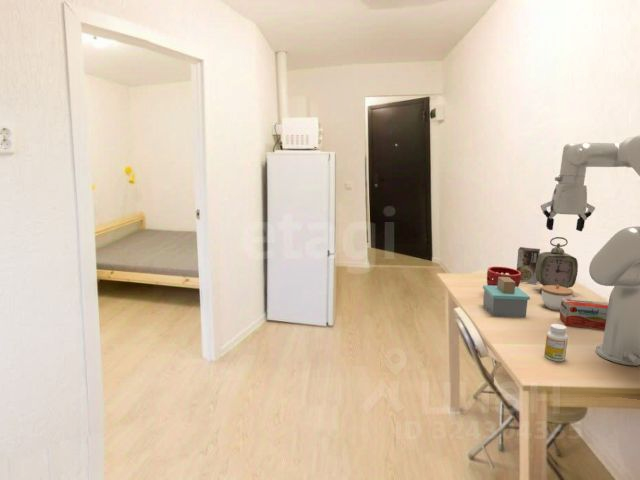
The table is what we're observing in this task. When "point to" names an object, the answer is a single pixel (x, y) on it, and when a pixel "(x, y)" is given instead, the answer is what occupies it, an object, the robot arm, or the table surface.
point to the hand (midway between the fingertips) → (564, 230)
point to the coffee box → (527, 264)
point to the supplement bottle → (556, 343)
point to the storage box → (505, 306)
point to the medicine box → (584, 313)
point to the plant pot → (502, 275)
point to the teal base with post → (505, 290)
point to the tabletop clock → (556, 267)
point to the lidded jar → (555, 295)
